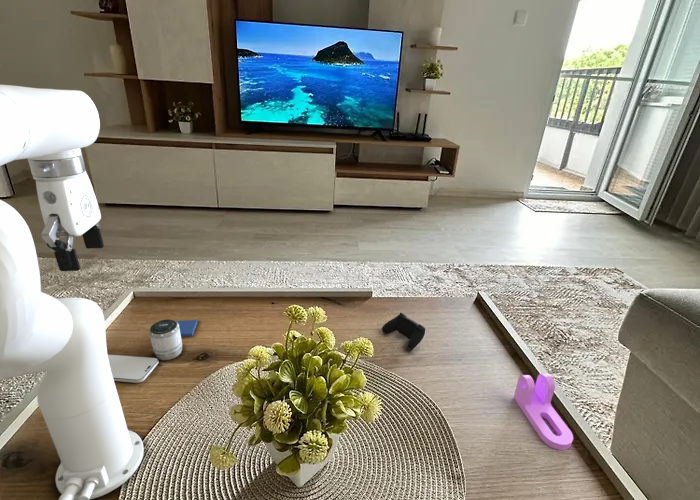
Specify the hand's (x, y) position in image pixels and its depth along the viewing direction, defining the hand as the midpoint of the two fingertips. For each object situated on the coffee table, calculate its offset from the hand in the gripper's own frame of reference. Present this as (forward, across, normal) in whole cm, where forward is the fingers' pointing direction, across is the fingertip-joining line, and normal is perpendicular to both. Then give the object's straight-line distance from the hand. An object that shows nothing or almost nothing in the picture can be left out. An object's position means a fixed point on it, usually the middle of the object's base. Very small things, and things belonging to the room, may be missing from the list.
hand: (83, 258), depth 74 cm
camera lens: (+28, +7, -9) cm, 31 cm away
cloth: (+28, +16, -10) cm, 34 cm away
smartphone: (+28, +2, 0) cm, 29 cm away
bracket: (+28, -22, -86) cm, 94 cm away
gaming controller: (+28, +7, -66) cm, 72 cm away
